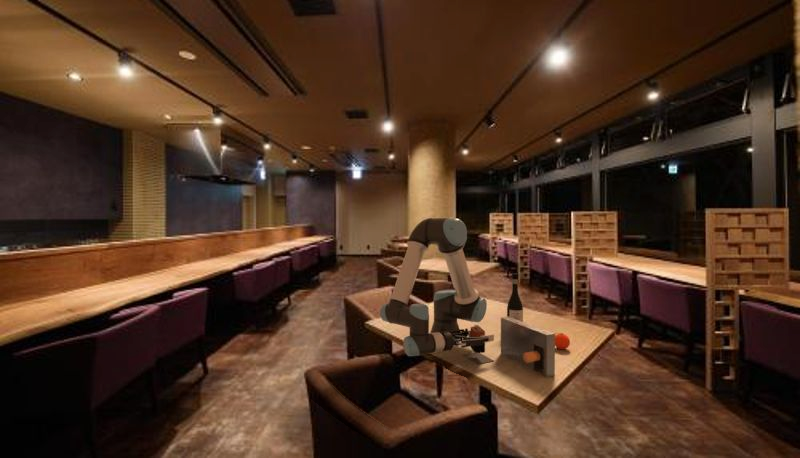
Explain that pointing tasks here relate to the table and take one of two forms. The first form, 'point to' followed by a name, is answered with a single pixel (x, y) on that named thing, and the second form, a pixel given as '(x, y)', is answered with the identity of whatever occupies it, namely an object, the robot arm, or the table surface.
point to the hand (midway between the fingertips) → (487, 334)
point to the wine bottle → (515, 301)
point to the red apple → (562, 341)
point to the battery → (478, 332)
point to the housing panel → (528, 344)
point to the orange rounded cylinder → (531, 356)
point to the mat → (478, 358)
